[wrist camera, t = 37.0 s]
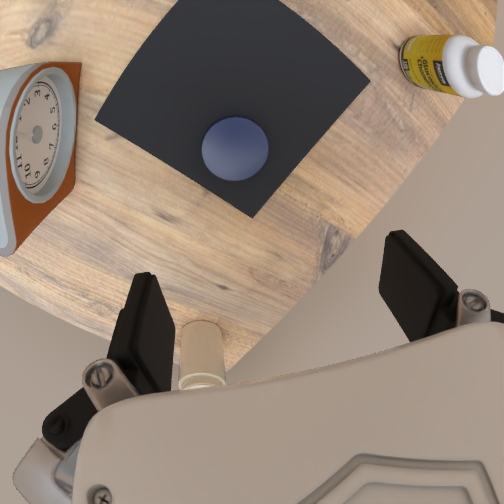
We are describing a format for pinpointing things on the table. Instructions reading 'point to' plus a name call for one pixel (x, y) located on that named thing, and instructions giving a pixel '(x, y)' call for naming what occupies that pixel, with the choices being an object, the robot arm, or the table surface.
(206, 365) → the jar
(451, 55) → the pill bottle
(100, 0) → the table surface
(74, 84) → the alarm clock
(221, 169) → the lid
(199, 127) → the mat
